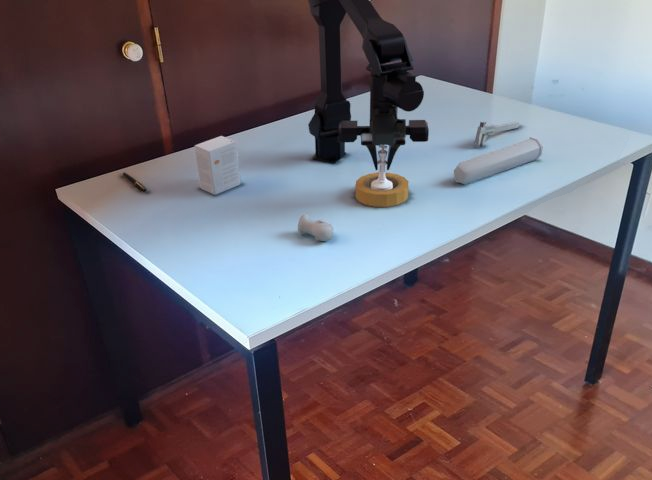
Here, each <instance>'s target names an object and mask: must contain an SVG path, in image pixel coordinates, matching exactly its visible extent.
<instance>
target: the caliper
mask: <svg viewBox="0 0 652 480" xmlns="http://www.w3.org/2000/svg"><path fill="white" fill-rule="evenodd" d="M520 126H522V124H521V123H520V122H518V121H513V122H507V123H501V124H493V123H492V124H487V121H480V123H479V126H478V127H477V129H476V130H477V131H476V134H475V141H474V143H475V144H474V147H476V148H480V147H482V148H483V147H484V144H485V143H486V139H487V136H489V137H494V135H495V133H499V132H503V131H510V130H516V129H518V128H519V127H520Z"/></svg>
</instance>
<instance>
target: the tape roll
mask: <svg viewBox="0 0 652 480" xmlns="http://www.w3.org/2000/svg"><path fill="white" fill-rule="evenodd" d="M385 176H386V179H387V180H389V181H391V182H392V183H393V188H392V189H389V190H376V189H372V188H371V183H372V182H373V181H374V180H377V179H378V177H379V172H372V173H368V174H365V175H362V176H360V177H358V179H356V180H355V198H356V200H357V201H358V202H359V203H361V204H363V205H365V206H369V207H374V208H390V207H396V206H398V205H401V204H403V203H405V202H406V201H407V200H408V199H409V188H410V187H409V185H410V183H409V180H408V179H407V178H406V177H405V176H402V175H400V174H398V173H393V172H385Z"/></svg>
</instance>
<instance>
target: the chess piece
mask: <svg viewBox="0 0 652 480" xmlns="http://www.w3.org/2000/svg"><path fill="white" fill-rule="evenodd" d="M378 148H380V150H378V151H377V155H378V157H379V160H378V166H379V171H378V173H379V177H378V179H377V180H374V181H373V182H372V183H371V188H372V189H376V190H389V189H392V188H393V183H392V182H391V181H389V180H387V179H386V176H385V173H386V167H385V165H386V166H387V159H386V158H387V156H388V151H387V148H388V145H379V146H378Z"/></svg>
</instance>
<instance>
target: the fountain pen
mask: <svg viewBox="0 0 652 480" xmlns="http://www.w3.org/2000/svg"><path fill="white" fill-rule="evenodd" d="M121 174H122V176H123V177H124V178H126V179H127V180H128V181H129V182H130V183H131V184H133V185H134V186H135V188H137V189H139V190H140V191H142V192H144V193H146V192H147V189H146V187H145V186H144V185H143V184H141V182H139V181H137V179H135V178H133V177H132V176H130V174H128V173H126V172H124V171H121Z"/></svg>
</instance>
